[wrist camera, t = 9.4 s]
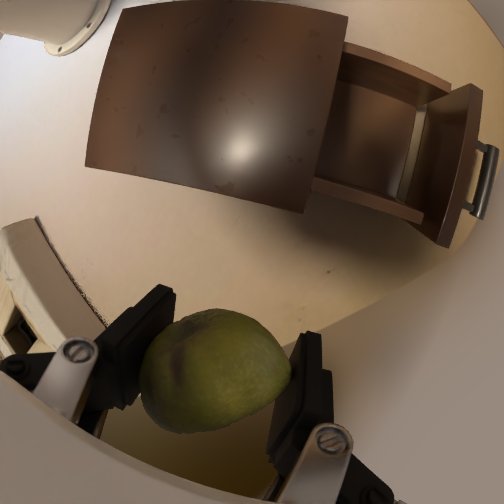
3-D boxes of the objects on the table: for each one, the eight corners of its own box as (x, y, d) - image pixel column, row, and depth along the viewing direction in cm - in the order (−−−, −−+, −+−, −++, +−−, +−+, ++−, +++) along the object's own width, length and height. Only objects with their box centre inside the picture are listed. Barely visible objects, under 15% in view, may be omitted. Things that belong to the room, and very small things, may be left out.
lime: (310, 323, 10) (306, 435, 5) (245, 392, 12) (216, 483, 7) (206, 258, 10) (131, 339, 5) (161, 341, 12) (102, 420, 7)
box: (33, 212, 32) (-3, 302, 43) (-5, 226, 25) (-25, 317, 35) (123, 339, 36) (58, 384, 46) (93, 371, 29) (39, 404, 39)
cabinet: (335, 64, 20) (348, 16, 11) (304, 194, 25) (303, 215, 16) (175, 44, 22) (122, 8, 13) (149, 160, 26) (84, 166, 17)
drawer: (474, 124, 18) (522, 118, 11) (446, 235, 22) (488, 265, 15) (285, 55, 20) (275, 16, 13) (257, 176, 24) (235, 184, 17)
